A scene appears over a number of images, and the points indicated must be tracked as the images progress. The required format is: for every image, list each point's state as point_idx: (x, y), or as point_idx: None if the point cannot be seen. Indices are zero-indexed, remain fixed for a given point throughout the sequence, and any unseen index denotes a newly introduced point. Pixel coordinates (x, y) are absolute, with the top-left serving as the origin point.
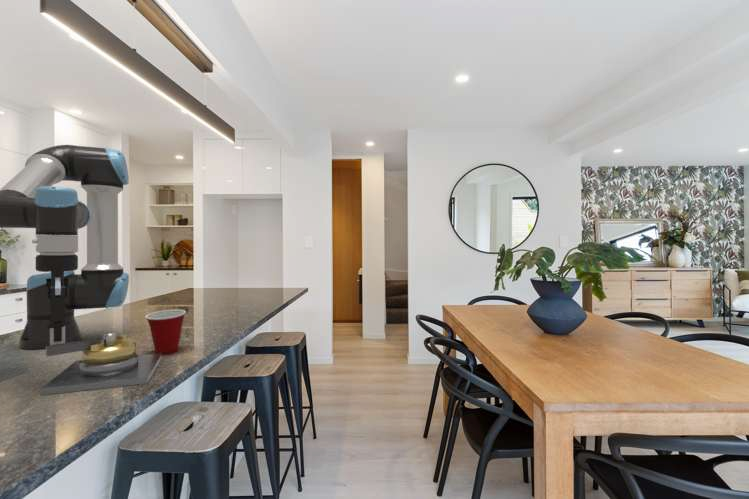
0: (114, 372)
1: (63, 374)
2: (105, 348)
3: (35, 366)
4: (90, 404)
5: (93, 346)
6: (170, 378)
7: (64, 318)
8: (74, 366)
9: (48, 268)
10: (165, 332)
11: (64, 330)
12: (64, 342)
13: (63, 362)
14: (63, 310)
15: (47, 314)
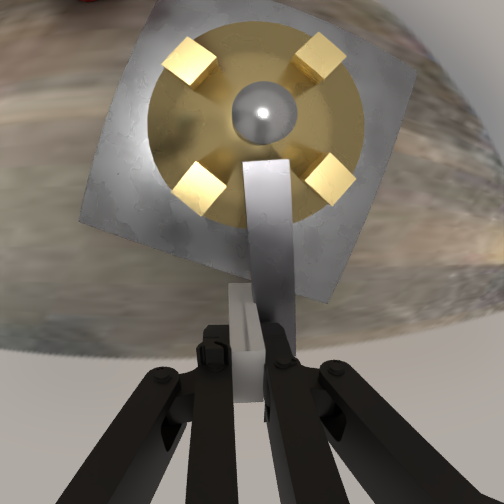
0: None
1: (225, 257)
2: (311, 144)
3: (40, 307)
4: (453, 209)
5: (339, 196)
6: (401, 24)
7: (370, 388)
8: (146, 227)
9: None
10: None
11: (262, 339)
12: (255, 307)
13: (31, 249)
14: (407, 427)
15: None
